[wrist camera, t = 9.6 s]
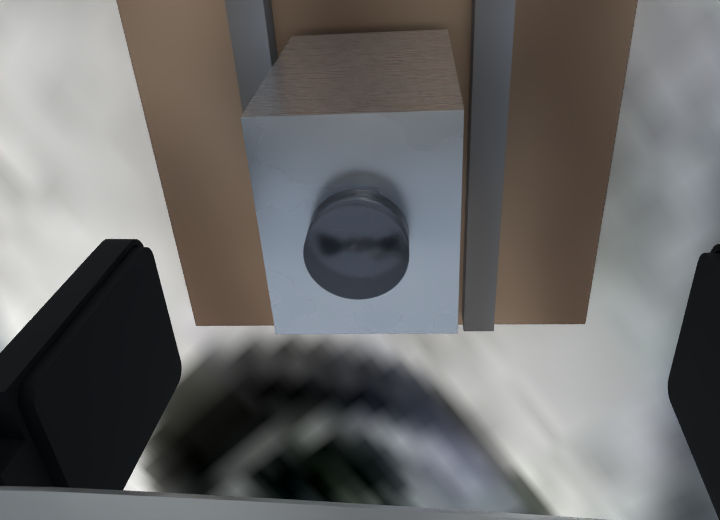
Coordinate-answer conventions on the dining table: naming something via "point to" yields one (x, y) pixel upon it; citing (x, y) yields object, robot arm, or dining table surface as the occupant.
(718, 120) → the dining table surface
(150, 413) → the robot arm
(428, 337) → the dining table surface
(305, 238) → the grey sliding block
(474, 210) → the bolt plate
